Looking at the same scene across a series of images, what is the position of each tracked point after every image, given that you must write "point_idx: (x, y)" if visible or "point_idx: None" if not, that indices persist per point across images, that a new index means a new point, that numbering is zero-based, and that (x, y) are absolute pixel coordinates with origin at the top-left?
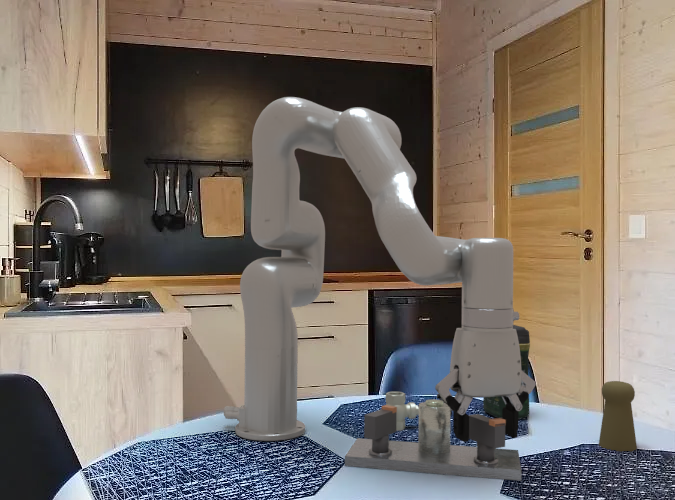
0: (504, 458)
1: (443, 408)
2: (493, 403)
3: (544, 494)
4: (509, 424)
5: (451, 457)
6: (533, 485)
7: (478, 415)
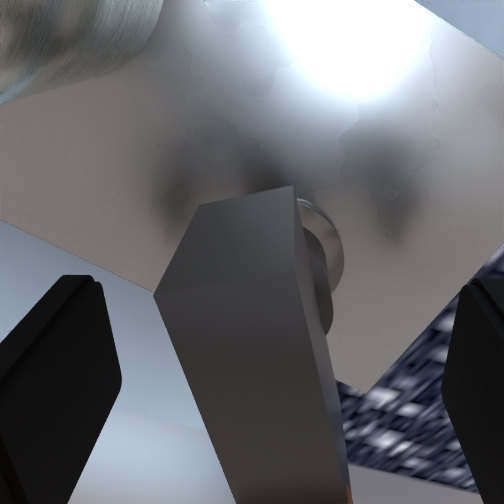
0: (401, 248)
1: None
2: None
3: (351, 464)
4: (477, 424)
5: (122, 158)
6: (372, 404)
7: (266, 324)
